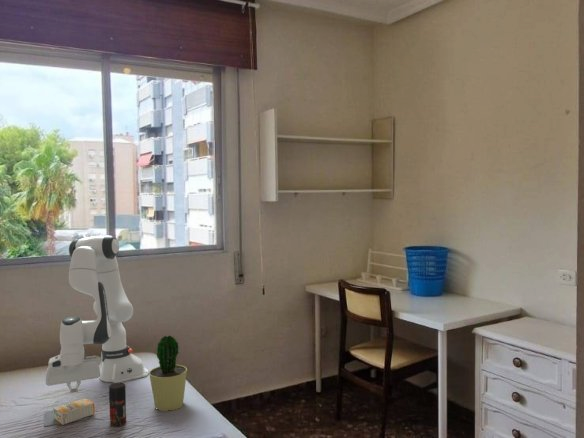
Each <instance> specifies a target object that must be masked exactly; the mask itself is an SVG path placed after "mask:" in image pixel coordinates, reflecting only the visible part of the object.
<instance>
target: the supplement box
mask: <svg viewBox="0 0 584 438" xmlns="http://www.w3.org/2000/svg"><path fill="white" fill-rule="evenodd" d="M95 406H96V405H95V402H93V401H91V400H89V399H87V398H86V397H84V398H81V399H77V400H75V401H71V402H67V403H64V404H61V405H57V406H55V407H53V410H52V411H53V412H54V419H55V420H56V421H58V422H59V423H61V424H60V425H62V426H63V425H66V424H70V423H73V422H72V421H74V422H76V421H75V420H78V419H81V418H84V417H87V416H89V417H90V416H92V415H95V414H96V409H95Z"/></svg>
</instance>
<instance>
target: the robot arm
mask: <svg viewBox="0 0 584 438" xmlns="http://www.w3.org/2000/svg"><path fill="white" fill-rule="evenodd" d="M118 241H119V240H118V239H117V238H116V237H115V236H114V235H93V236H87V237H83V238H76V239H73V240H72V241H71V243H69V246H68V254H69V256H70V262H69V270H68V283H69V285H70V287H71V288H72V289H73V290H75V291H77V292H80V293H82V294H85V295H87V296H90V297H92V298H93V299H94V302H93V306H92V308H93V312H94V313H95V315H96V319H93V320H91V319H90V320H82V318H81V317H79V316H74V315H73V316H68V317H66V318H64V319H62V320H61V321H60V322H61V323H60V328H59V344H60V352H59V354H58V355H55V356H52V357H50V358H49V359H48V366H47V368H46V373H45V385H46V386H48V387H49V386H50V387H51V386H56V385H62V384H66V386H67V387H68V389H69V393H70V394H72V393H78V392H79V387H80V385H81V383H82V381H88V380H89V381H90V380H93V379H94V380H95V379H99V380H100V381H102V382H108V383H112V384H114V383H125V382H129V381H132V380H137V379H141V378H145V377H147V376H148V375H149V369H148V368H147V367H145V366H144V363H143V361H142V360H141V358H140V357H138V356H136V355H135V354H133V349H132V348H131V347H130V346H129V345H127V331H126V328H125V327H124V325H123V323H124V322H128V321H129V320H130V319H132V317H133V314H134V307H133V305H132V303H131V302H130V300H129V298H128V296H127V294H126V291H125V290H124V289H125V288H124V287H123V284H122V280H121V274H120V269H119V264H118V259H117V255H118V253H119V251H120V246H119V245H120V244H119V242H118ZM122 322H123V323H122ZM84 345H101V347H102V348H101V352H100V354H101V355H100V356H99V355H96V354H94V355H93V354H92V355H86V356H85V346H84ZM100 365H101V370H100ZM75 382H76V386H72V385H71V383H75Z"/></svg>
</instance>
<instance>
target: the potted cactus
mask: <svg viewBox="0 0 584 438" xmlns="http://www.w3.org/2000/svg"><path fill="white" fill-rule="evenodd" d="M156 346H157V347H155V350H156V358H157V360H156V361H157V362H158V364H159V366H156V367H154V368H152V369H150V370H149V371H148V375H149V380H150V386H151V389H152V395H153V401H154V406H155V409H156V408H157V409H159V410H164V411H163V412H169V411H168V410H173V411H176V410H178V408H179V409H181V408H182V406H183V405H184V401H185V391H186V381H187V372H188V368H187V366H184V365H181V364H177V362H178V361H177V359H178V355H179V354H181V352H179V349H180V348H181V347H179V341H177V339H176V338H175V336H174V335H173V336H172V335H164V336H162V337H161V339H160V340H159V341H158V343H157V345H156ZM157 409H156V410H157ZM175 409H176V410H175ZM159 410H158V411H159Z"/></svg>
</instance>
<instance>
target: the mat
mask: <svg viewBox="0 0 584 438" xmlns="http://www.w3.org/2000/svg"><path fill="white" fill-rule="evenodd" d="M89 419H90V416H87V417H84V418H81V419H78V420H75V421H72V422H71V423H74V422H78V421H83V420H89ZM43 420H44V421H43V428H47V427H51V426H57V425H62V424H61V423H59V422H58V421H56V420H55V419H54V412H53V410H49V411H44V419H43Z"/></svg>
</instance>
